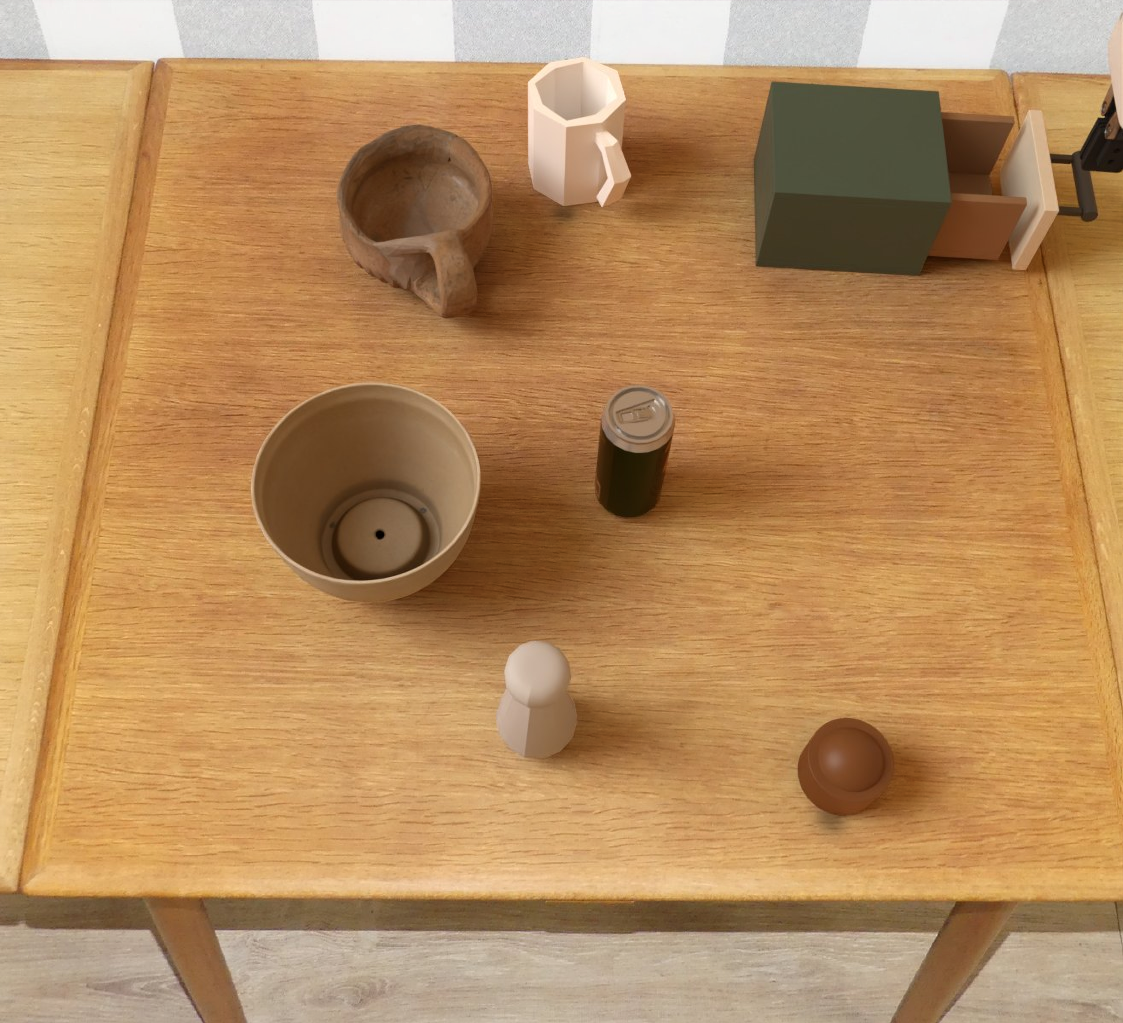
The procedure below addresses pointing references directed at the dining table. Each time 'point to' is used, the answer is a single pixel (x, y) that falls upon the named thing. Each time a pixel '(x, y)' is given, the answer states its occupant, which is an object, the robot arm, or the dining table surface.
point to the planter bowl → (367, 490)
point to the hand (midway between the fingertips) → (1099, 163)
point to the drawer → (1004, 188)
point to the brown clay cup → (419, 214)
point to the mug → (577, 133)
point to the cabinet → (849, 178)
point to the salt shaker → (536, 701)
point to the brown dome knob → (845, 766)
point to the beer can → (633, 450)
